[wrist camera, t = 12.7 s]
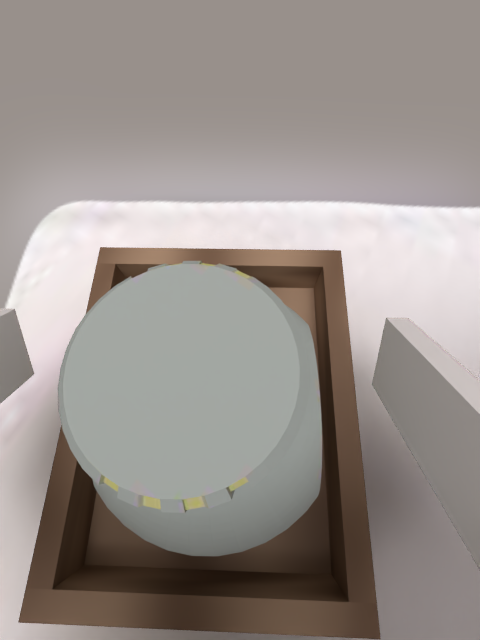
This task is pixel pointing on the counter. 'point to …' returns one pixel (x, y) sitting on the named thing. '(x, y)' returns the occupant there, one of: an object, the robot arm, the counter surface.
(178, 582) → the tray
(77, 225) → the counter surface
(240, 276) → the air freshener
